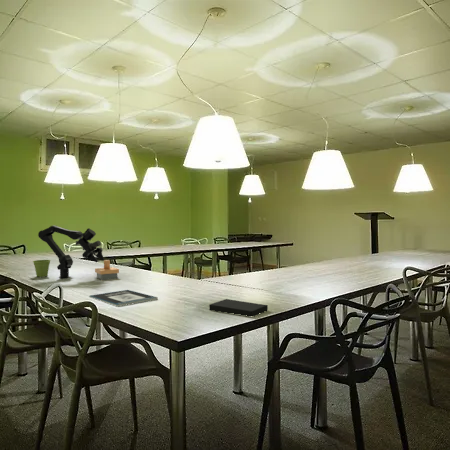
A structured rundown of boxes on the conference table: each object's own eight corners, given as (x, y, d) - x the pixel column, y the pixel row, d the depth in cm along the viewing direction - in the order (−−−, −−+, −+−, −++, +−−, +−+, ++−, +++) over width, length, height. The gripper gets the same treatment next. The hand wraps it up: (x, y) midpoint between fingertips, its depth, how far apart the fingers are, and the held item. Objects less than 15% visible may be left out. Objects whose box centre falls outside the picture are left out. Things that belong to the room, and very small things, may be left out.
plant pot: (30, 276, 280) (29, 260, 280) (46, 274, 289) (46, 259, 289) (37, 278, 273) (36, 262, 272) (53, 276, 282) (53, 260, 281)
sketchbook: (127, 292, 227) (127, 288, 227) (158, 301, 204) (158, 296, 204) (89, 297, 211) (89, 293, 211) (118, 308, 188) (118, 303, 188)
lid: (95, 272, 270) (95, 260, 270) (113, 270, 277) (112, 258, 277) (100, 274, 260) (100, 261, 259) (118, 272, 267) (118, 260, 267)
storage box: (96, 278, 270) (96, 270, 270) (112, 277, 276) (112, 268, 276) (101, 280, 261) (101, 272, 261) (117, 279, 267) (117, 270, 267)
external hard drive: (252, 318, 168) (252, 311, 168) (209, 310, 182) (209, 304, 182) (267, 311, 180) (267, 305, 180) (226, 304, 193) (226, 298, 193)
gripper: (86, 237, 260) (101, 254, 259) (100, 236, 279) (114, 251, 277) (75, 249, 262) (90, 266, 260) (90, 247, 280) (104, 262, 279)
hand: (100, 261), depth 269 cm, fingers open, 9 cm apart
